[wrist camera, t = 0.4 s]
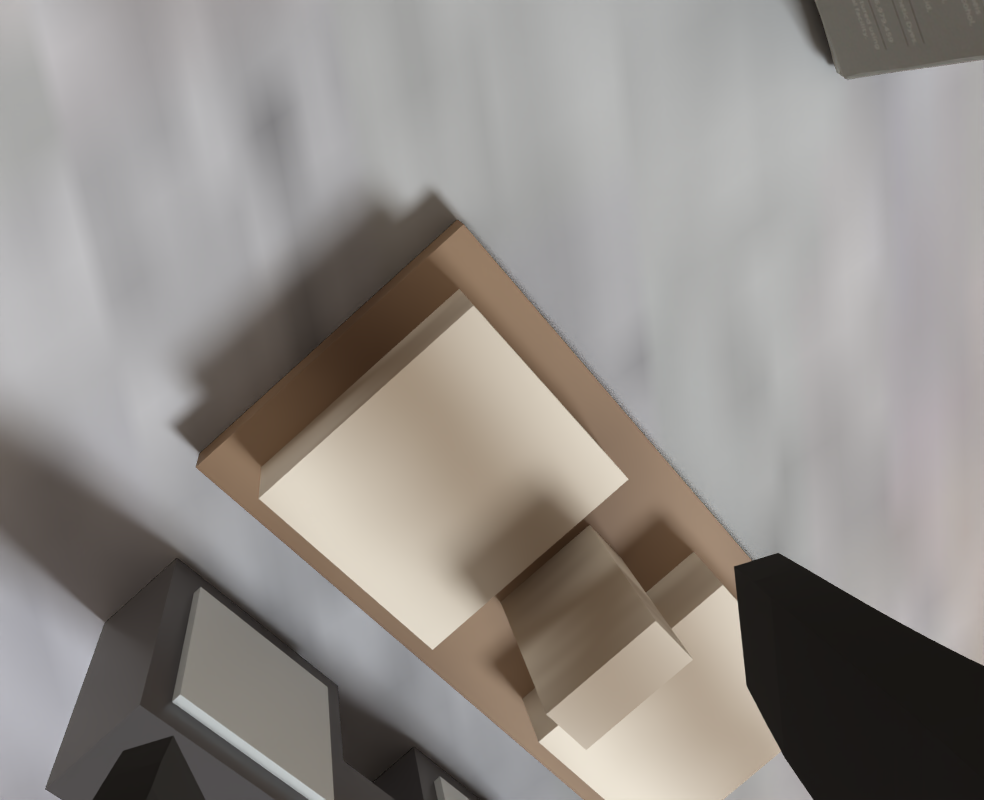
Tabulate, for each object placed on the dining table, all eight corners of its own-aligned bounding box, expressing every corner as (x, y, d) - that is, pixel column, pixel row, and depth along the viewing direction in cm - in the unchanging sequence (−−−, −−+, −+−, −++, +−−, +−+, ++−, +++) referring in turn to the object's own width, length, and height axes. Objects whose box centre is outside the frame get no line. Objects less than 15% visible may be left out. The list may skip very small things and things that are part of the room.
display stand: (624, 821, 27) (697, 980, 22) (199, 453, 20) (170, 564, 16) (827, 651, 26) (947, 775, 21) (457, 219, 20) (509, 258, 15)
